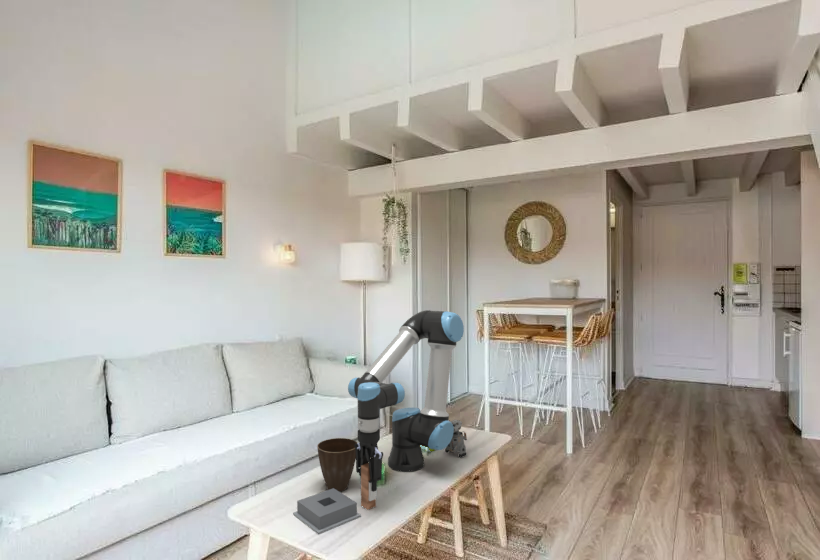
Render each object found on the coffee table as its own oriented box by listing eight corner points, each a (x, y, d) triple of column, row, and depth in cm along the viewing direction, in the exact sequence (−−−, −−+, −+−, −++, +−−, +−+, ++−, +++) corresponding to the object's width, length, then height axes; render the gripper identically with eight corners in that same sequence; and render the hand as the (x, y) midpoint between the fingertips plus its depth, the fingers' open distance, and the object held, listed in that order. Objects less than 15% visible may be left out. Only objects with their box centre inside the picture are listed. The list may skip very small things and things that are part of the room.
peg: (369, 502, 166) (369, 462, 165) (375, 506, 163) (376, 465, 163) (361, 506, 163) (361, 465, 163) (367, 510, 161) (367, 468, 160)
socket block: (334, 499, 168) (334, 486, 168) (361, 516, 156) (361, 502, 156) (293, 514, 157) (293, 500, 157) (318, 534, 146) (318, 519, 145)
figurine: (436, 456, 208) (436, 421, 208) (453, 449, 216) (453, 416, 216) (452, 462, 202) (452, 426, 201) (469, 454, 210) (469, 420, 209)
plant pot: (335, 475, 188) (335, 435, 187) (365, 484, 180) (365, 442, 180) (308, 490, 175) (308, 447, 174) (340, 500, 167) (340, 455, 167)
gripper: (345, 425, 167) (345, 492, 167) (375, 438, 154) (374, 510, 154) (362, 421, 172) (362, 485, 172) (392, 433, 159) (392, 502, 159)
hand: (368, 497), depth 163 cm, fingers open, 4 cm apart
